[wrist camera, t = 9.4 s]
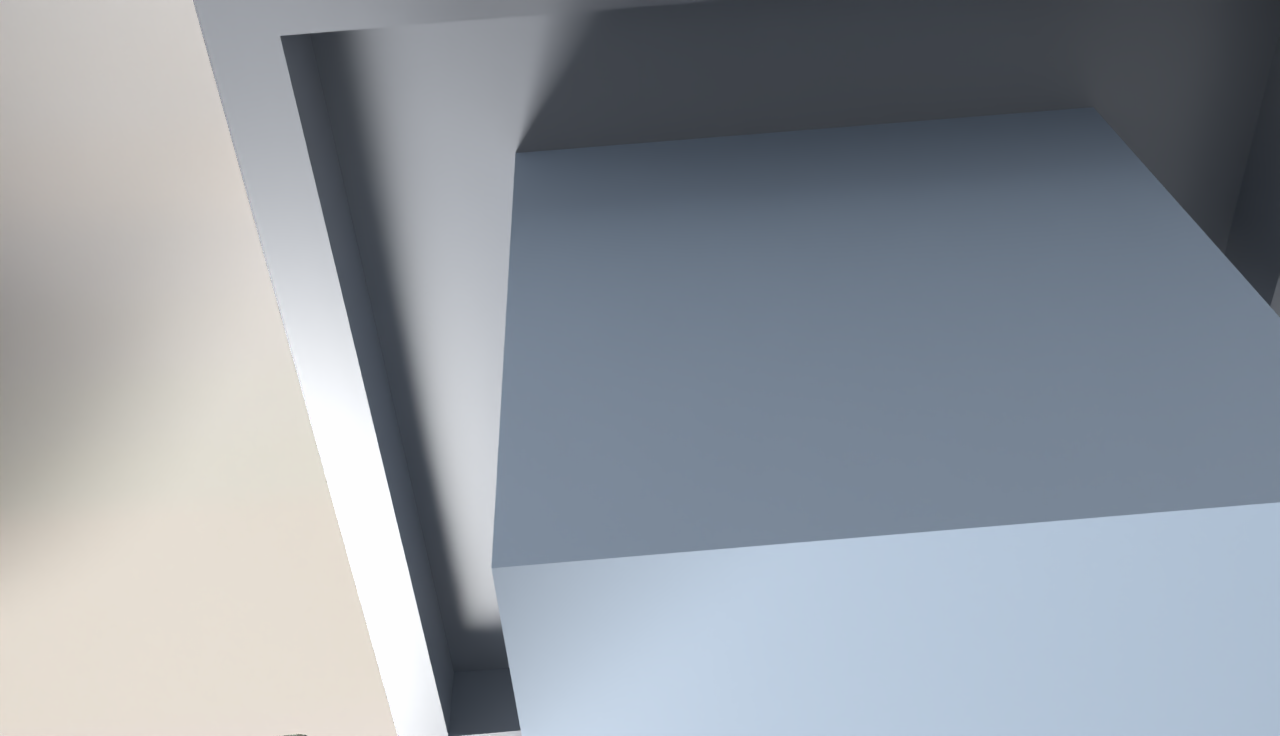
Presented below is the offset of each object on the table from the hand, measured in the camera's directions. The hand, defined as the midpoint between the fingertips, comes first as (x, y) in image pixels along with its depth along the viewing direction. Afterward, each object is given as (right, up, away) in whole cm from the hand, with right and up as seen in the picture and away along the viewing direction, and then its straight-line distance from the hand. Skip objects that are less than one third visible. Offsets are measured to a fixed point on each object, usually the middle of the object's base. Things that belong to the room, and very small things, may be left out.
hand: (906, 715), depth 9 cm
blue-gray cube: (0, +3, +4) cm, 5 cm away
